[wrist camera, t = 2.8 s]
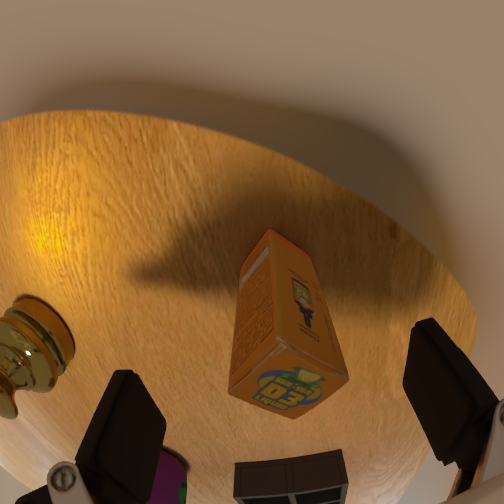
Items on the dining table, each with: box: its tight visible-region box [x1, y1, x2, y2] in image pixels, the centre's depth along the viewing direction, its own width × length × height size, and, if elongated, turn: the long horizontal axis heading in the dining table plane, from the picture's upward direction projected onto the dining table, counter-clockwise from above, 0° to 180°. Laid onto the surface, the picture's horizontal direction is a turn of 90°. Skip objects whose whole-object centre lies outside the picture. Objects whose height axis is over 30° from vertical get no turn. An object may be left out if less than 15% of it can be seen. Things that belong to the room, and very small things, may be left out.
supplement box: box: [228, 229, 349, 419], centre depth 13 cm, size 3×3×10 cm
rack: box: [233, 450, 349, 504], centre depth 27 cm, size 12×12×5 cm
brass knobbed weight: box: [0, 298, 74, 419], centre depth 16 cm, size 7×8×10 cm
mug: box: [146, 450, 187, 504], centre depth 24 cm, size 17×11×10 cm, turn 172°
